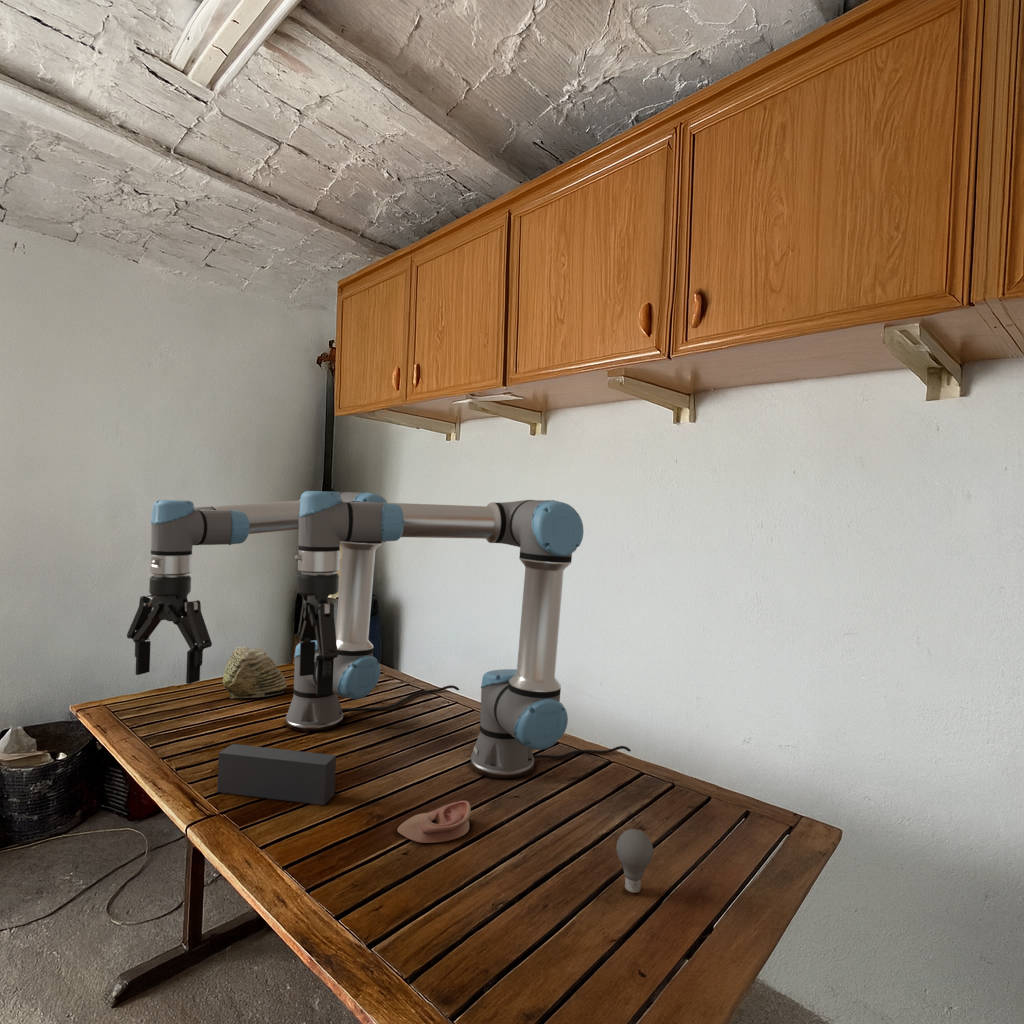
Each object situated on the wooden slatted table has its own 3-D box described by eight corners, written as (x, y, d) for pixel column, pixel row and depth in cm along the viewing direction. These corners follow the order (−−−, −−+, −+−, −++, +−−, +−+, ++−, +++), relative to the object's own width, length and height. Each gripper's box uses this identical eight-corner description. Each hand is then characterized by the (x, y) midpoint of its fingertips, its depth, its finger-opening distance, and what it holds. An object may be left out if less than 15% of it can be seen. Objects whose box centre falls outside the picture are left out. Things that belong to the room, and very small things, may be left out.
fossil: (218, 695, 195) (220, 647, 195) (278, 685, 208) (279, 640, 207) (228, 703, 189) (230, 653, 188) (289, 692, 201) (290, 645, 201)
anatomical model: (391, 817, 118) (413, 790, 130) (390, 838, 118) (412, 809, 130) (459, 827, 116) (476, 799, 127) (459, 849, 116) (475, 819, 127)
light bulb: (610, 879, 108) (613, 822, 108) (644, 879, 109) (647, 822, 109) (619, 902, 102) (622, 840, 102) (655, 901, 103) (658, 840, 103)
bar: (217, 792, 134) (218, 752, 134) (231, 781, 139) (232, 743, 139) (324, 805, 130) (325, 764, 130) (334, 794, 135) (336, 755, 135)
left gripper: (109, 571, 131) (106, 674, 131) (203, 582, 122) (200, 691, 123) (141, 568, 138) (138, 665, 138) (232, 578, 130) (229, 681, 130)
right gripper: (284, 565, 128) (281, 669, 129) (314, 582, 107) (310, 706, 107) (321, 564, 132) (318, 665, 133) (358, 580, 111) (354, 700, 111)
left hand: (167, 677), depth 130 cm, fingers open, 13 cm apart
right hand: (315, 684), depth 120 cm, fingers open, 13 cm apart
